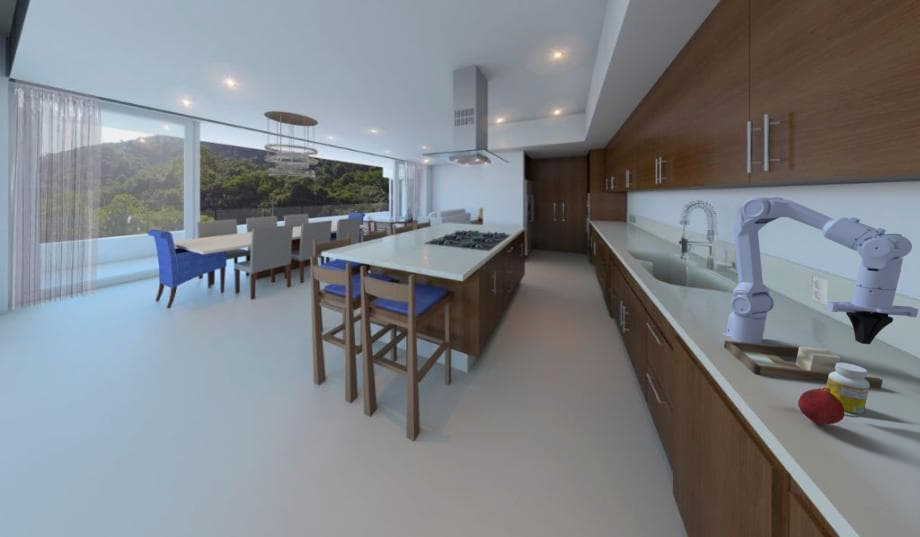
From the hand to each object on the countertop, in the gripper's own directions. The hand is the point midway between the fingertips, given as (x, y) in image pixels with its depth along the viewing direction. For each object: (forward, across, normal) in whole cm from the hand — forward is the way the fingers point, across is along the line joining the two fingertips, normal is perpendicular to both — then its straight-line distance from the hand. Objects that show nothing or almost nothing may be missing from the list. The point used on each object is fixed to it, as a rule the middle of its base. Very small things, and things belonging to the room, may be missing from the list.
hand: (862, 342), depth 76 cm
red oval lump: (+10, -20, -24) cm, 33 cm away
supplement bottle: (+10, -12, -16) cm, 23 cm away
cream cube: (+8, -8, 0) cm, 11 cm away
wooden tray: (+9, -12, +2) cm, 15 cm away
